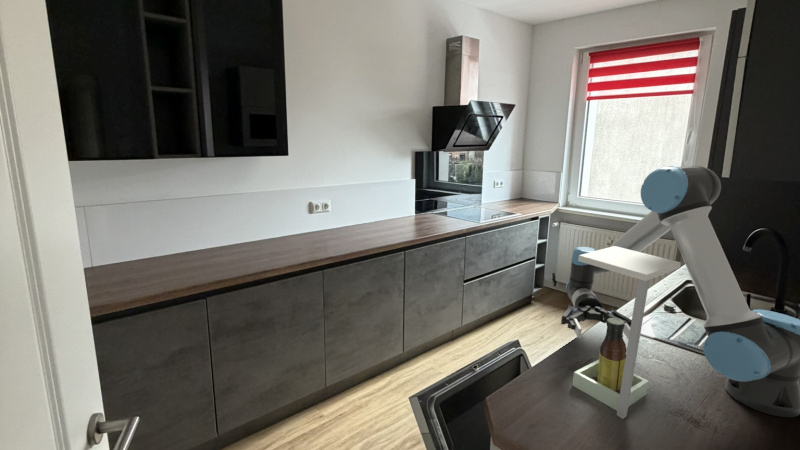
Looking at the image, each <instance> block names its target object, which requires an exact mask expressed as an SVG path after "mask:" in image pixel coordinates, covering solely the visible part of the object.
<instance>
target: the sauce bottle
mask: <svg viewBox="0 0 800 450" xmlns="http://www.w3.org/2000/svg"><path fill="white" fill-rule="evenodd" d="M623 328H624V321H623V320H621V319H618V318H609V319H607V323H606V333H605V336H604V340H603V341H602V343H601V345H600V347H599V357H598V359H599V367H598V375H597V378H596V379H597V381H596V382H598V383H600V384H602V385H604V386H605V387H607V388H609V389H611V390H613V391H615V392H617V393H618V394H620V390H621V384H622V378H623V371H624V365H625V359H626V353H627V347H626V346H627V345H626V342H625V340H624V336H623V335H624V332H623Z"/></svg>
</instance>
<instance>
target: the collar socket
mask: <svg viewBox="0 0 800 450" xmlns="http://www.w3.org/2000/svg"><path fill="white" fill-rule="evenodd" d="M598 367H599V358H598V359H597V360H594V361H592V362H591V363H589V364H587V365H585V366H583V367H581V368H578V369H577V370H575V371H574V372H573V378H572V383H571V385H572V386H573V387H575V388H576V389H578V390H580V391H581V392H583V393H584V394H585V393H586V394H587V395H589V396H591V397H592V398H594V399H596V400H598V401H599V402H601V403H603V404H605V405H606V406H608V407H610V408H611V409H613V410H615V411H616V412H617V409H618V403H619V396H620V394H618V393H617V392H615V391H613V390H611V389H609V388H607V387H605V386H604V385H602V384H600V383H598V382H597V381H596V380H595V379H593V378H595V377H597V376H598ZM596 375H597V376H596ZM649 383H650V381H649V380H648V379H646V378H644V377H642V376H639V375H638V374H636V373H634V375H633V381H632V387H631V393H630V399H629V405H628V408H629V407H631V405H633V404H634V403H636V402H637V401H639V400H640V399H643V397H645V396H646V395H647V393H648V388H649Z"/></svg>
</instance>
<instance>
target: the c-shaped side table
mask: <svg viewBox="0 0 800 450" xmlns="http://www.w3.org/2000/svg"><path fill="white" fill-rule="evenodd" d="M578 261H580V262H583V263H587V264H590V265H593V266H597V267H600V268H603V269H607V270H610V271H611V272H613V273H618V274H620V275H622V276H623V275H624V276H627V277H630V278H633V279H637V285H636V291H635V292H636V293H635V297H634V302H633V309H632V310H633V311H632V314H631V315H632V316H631V320H632V321H631V328H630V334H629V340H628V339H627V340H628V342H627V345H626V346H627V347H626V359H625V365H624V371H623V378H622V384H621V390H620V396H619V403H618V409H617V411H616V416H617V417H619V418H620V419H621V420H622V419H625V418H627V416H628V412H629V411H628V410H629V407H628V405H629V399H630V393H631V387H632V381H633V375H634V374H635V367H636V362H637V356H638V350H639V344H640V339H641V333H642V328H643V327H642V326H643V320H644V314H645V307H646V303H647V297H648V291H649V283H650V280H653V279H655V278H657V277H661V276H663V275H665V274H668V273H671V272H674V271H676V270H679V269H681V265H682V262H680V261H677V260H673V259H669V258H665V257H660V256H657V255H653V254H649V253H645V252H642V251H641V252H637V251H633V250H629V249H625V248H621V247H617V246H612V247H609V246H608V247H606V248H601V249H597V250H596V251H593V252H589V253H585V254H582V255H579V258H578Z"/></svg>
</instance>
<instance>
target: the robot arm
mask: <svg viewBox="0 0 800 450" xmlns="http://www.w3.org/2000/svg"><path fill="white" fill-rule="evenodd" d="M721 190H722V184H721V179H720V178H719V176H718V175H717V174H716V173H715V171H713V170H711V169H710V168H708V167H705V166H700V165H690V166H675V165H674V166H666V167H661V168H657V169H655V170H653V171H652V172H650V173H649V174H648V175H647V176H646V177H645V179H644V180H643V183H642V184H641V188H640V199H641V201H642V203H643V206H644V207H645V208H646V209H648V210H650V212H649V213H648V214H646V215H645V216H644V217H643V218H641V219H640V220H639V221H637V223H636V224H635V225H633V226H632V227H630V228H629V229H628V230H627V231H625V233H623V234H622V235H621V236H620V237H618V238H617V239H616V240H615V241H614V242H613V243H611V244H610V245H609V246H608V247H612V246H617V247H621V248H625V249H629V250H633V251H637V252H641V253H642V251H644V250H645V249H646V248H648V247H649V246H650V245H652V244H653V243H655V242H656V241H657V240H658V239H660V238H661V237H662V236H664V235H665V234H667V233H668V232H669V231H671V234H672V236H673V238H674V241H675V243H676V246H677V247H678V250H679V252H680V254H681V257H682V259H683V262H684V264H685V266H686V269H687V272H688V275H689V276H690V278H691V281H692V283H693V286H694V287H695V290H696V292H697V296H698V298H699V300H700V303H701V305H702V307H703V309H704V311H705V315H706V320H705V321H704V322H703V325H702V326H703V328H704V330H705V332H706V336H707V337H706V339H705V341H704V343H703V349H702V350H703V354H704V357H705V359H706V361H707V363H708V364H709V365H710V366H711V368H713V370H715V371H716V372H717V373H719V374H721V375H723V376H724V377H725V378H726V381H725V385H724V386H725V387H724V388H725V390H726V392H727V393H728V394H729V395H730V396H731V397H732V398H733V399H734V400H736V401H738V402H739V403H740V404H743V405H744V406H746V407H748V408H751V409H753V410H755V411H758V412H759V413H764V414H767V415H770V416H774V417H780V418H781V417H782V418H795V417H798V416H800V319H799V318H796V317H793V316H790V315H788V314H784V313H779V312H776V311H771V310H769V309H767V310H766V309H752V310H751V309H750V306H749V305H748V303H747V299H746V298H745V296H744V294H743V292H742V290H741V288H740V286H739V283H738V281H737V278H736V276H735V274H734V271H733V269H732V267H731V265H730V263H729V260H728V258H727V256H726V254H725V252H724V249H723V248H722V244H721V242H720V240H719V238H718V236H717V234H716V231H715V229H714V227H713V224H712V222H711V220H710V218H709V214H710V212H711V211H712V208H713V207H712V204H713V203H714V202H715V201H717V199H718V198H719V196H720V193H721ZM593 251H597V250H596V249H595V248H593V247H590V246H576V247H575V248H574V249H573V251H572V257H571V265H570V272H569V280H568V281H567V282H566V285H565V291H566V294H567V297H568V298H569V299H570V301H571V303H572V304H573V305H571V304H568V305H567V306H568V307H567V309H566V310H565V312H564V313H563V314H562V315H561V319H560V320H561V322H560V323H561V325H566V324H567V328H568V329H570V330H572V331H574V333H575V335H576V337H577V338H578V339H581V337H582V331H583V329H582V327H581V324H580V323H581V322H585V321H587V320H588V321H590V320H591V321H593V320H594V321H598V322H601V323H603V324H607V319H609V318H618V319H621V320H623V321H624V328H623V335H625V337H626V338H627V340H629V334H630V328H631V321H632V318H631V319H630V318H629V317H627V316H625V315H624V314H621V313H620V312H618V311H617V310H616V309H615V308H611V309H610V311H609V310H606V309H605V308H604V307H603V305H602V302H601V301H600V299H599V298H598V297H597V295H596V294H595V293H594V291H593V288H594V282H595V281H594V280H595V276H596V275H599V274H606V273H610V272H612V271H610V270H607V269H603V268H600V267H597V266H593V265H590V264H587V263H583V262H580V261H578V258H579V255H582V254H585V253H589V252H593Z"/></svg>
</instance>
